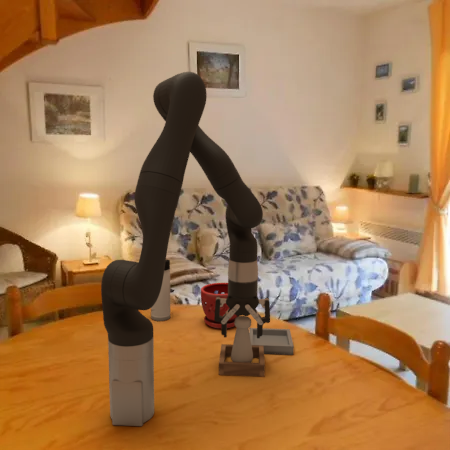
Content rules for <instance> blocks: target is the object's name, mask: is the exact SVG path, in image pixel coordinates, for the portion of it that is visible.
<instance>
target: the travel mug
mask: <svg viewBox="0 0 450 450" xmlns="http://www.w3.org/2000/svg"><path fill="white" fill-rule="evenodd" d="M170 265H171V260H170V259H167V258H166V262H165V269H164V276H163V282H162V287H161V291H160V294H159V297H158V299H157V301H156V303H155V304H154V305H153V306H152V307H151V308H150V318H151V319H152V320H154V321H157V322H163V321H168V320H169V319H170V318H171V266H170Z"/></svg>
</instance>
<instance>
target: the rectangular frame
mask: <svg viewBox="0 0 450 450" xmlns="http://www.w3.org/2000/svg"><path fill="white" fill-rule="evenodd" d="M251 346H252V352H253V359H254V358H256V359H258V362H251V363H250V362H232V361H226V358H227V357H228V358H229V357H230V358H231V353H232V348H233V344H228V343H226V344H225V343H221V344H220V353H219V361H218V376H238V377H240V376H243V377H265V375H266V374H265V373H266V371H265V370H266V364H265V363H266V361H265V354H264V347H263V346H259V345H251Z"/></svg>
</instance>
